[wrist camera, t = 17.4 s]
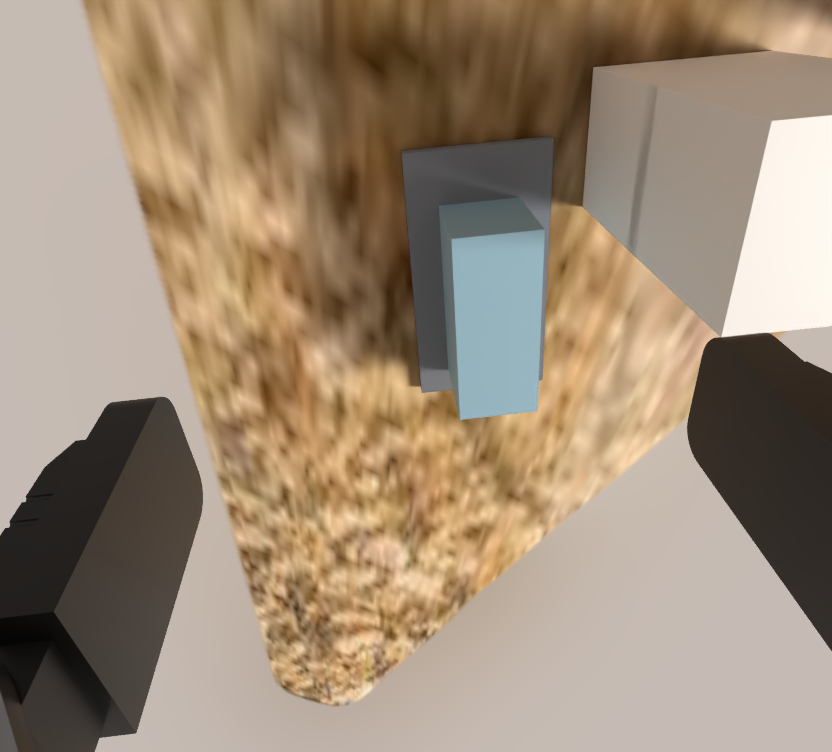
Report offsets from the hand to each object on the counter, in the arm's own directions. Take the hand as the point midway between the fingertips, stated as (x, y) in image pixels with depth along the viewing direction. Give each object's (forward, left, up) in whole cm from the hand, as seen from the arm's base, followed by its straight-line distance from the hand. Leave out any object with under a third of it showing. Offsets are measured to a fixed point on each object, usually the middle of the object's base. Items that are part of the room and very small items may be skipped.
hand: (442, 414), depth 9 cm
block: (+12, +5, -29) cm, 32 cm away
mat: (+11, +5, -30) cm, 32 cm away
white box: (+3, +17, -30) cm, 34 cm away
